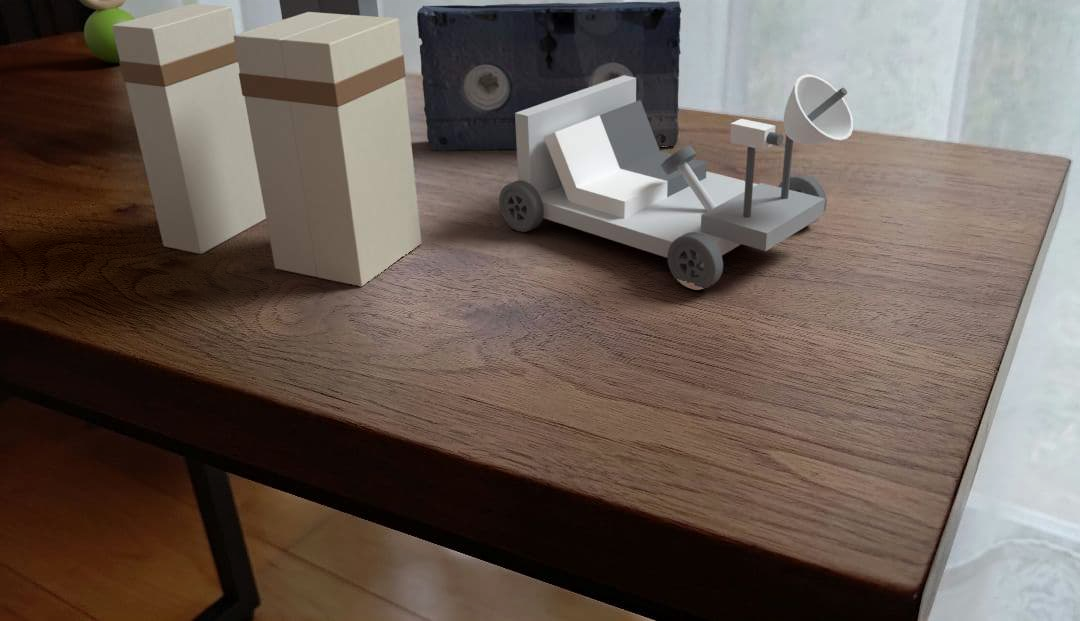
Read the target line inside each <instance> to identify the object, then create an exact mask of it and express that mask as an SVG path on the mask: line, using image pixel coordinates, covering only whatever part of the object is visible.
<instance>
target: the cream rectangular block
mask: <svg viewBox="0 0 1080 621" xmlns="http://www.w3.org/2000/svg"><path fill="white" fill-rule="evenodd" d="M112 28H113V33H114V37H115V41H116V45H117V50H118V54H119V58H120V61H119V63H118V64H119V67H120V72H121V75H122V81H123V82H124V84H125V87H126V92H127V96H128V100H129V106H130V109H131V114H132V117H133V122H134V126H135V130H136V135H137V138H138V142H139V147H140V151H141V156H142V161H143V164H144V168H145V173H146V177H147V181H148V186H149V190H150V194H151V198H152V203H153V207H154V211H155V215H156V219H157V224H158V229H159V233H160V237H161V241H162V245H163V247H165V248H170V249H175V250H179V251H185V252H189V253H194V254H197V255H198V254H199V255H203V254H204V253H206V252H208V251H209V250H211V249H214V248H215V247H216V246H219V245H221V244H222V243H224V242H226V241H229V239H232V238H234V237H235V236H237V235H238V234H241V233H243V232H244V231H247V230H248V229H250V228H252V227H253V226H255V225H257V224H260V223H262V221H265V220H266V215H265V209H264V204H263V198H262V193H261V187H260V182H259V176H258V170H257V165H256V159H255V154H254V148H253V142H252V137H251V131H250V126H249V120H248V115H247V109H246V103H245V98H244V96H243V95H242V90H241V85H240V79H239V73H240V70H239V64H238V59H237V53H236V48H235V42H234V35H237V31H236V27H235V20H234V15H233V9H232V6H229V5H216V4H215V5H214V4H201V3H190V4H186V5H182V6H178V7H175V8H171V9H168V10H164V11H163V10H162V11H160V12H156V13H152V14H149V15H144V16H141V17H137V18H135V19H133V20H129V21H126V22H122V23H118V24H114V25H112Z"/></svg>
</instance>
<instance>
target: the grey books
mask: <svg viewBox="0 0 1080 621" xmlns="http://www.w3.org/2000/svg"><path fill="white" fill-rule="evenodd" d="M278 2H279V8H280V14H281V20H284V19H287V18H291V17H294V16H297V15H300V14H303V13H306V12H316V13H330V14H344V15H351V16H352V15H358V16H372V17H379V9H378V0H278Z"/></svg>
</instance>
